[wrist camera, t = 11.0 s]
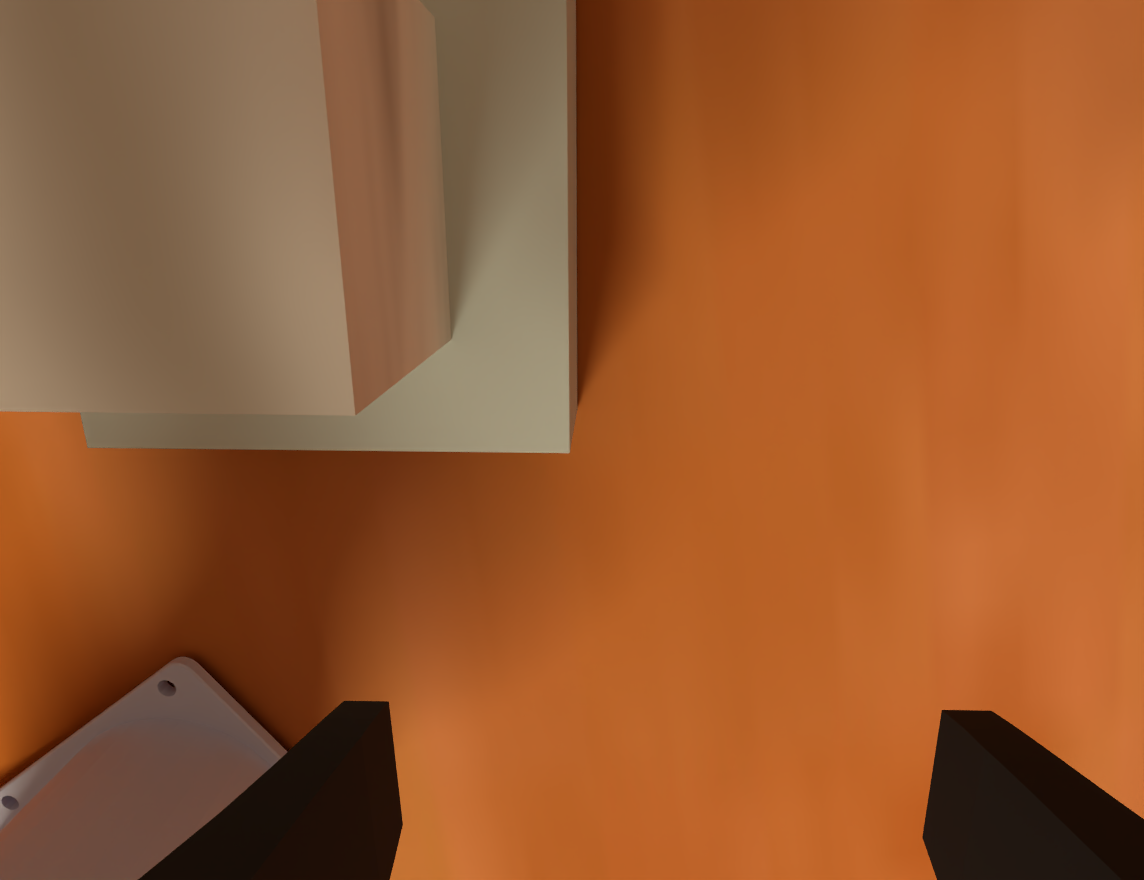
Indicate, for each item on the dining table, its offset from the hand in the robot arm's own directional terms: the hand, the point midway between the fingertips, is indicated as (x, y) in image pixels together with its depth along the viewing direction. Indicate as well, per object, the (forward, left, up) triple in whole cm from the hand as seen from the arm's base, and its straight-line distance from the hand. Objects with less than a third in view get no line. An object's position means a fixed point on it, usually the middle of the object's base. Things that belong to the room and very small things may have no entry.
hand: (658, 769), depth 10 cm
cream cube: (-1, +10, -6) cm, 11 cm away
